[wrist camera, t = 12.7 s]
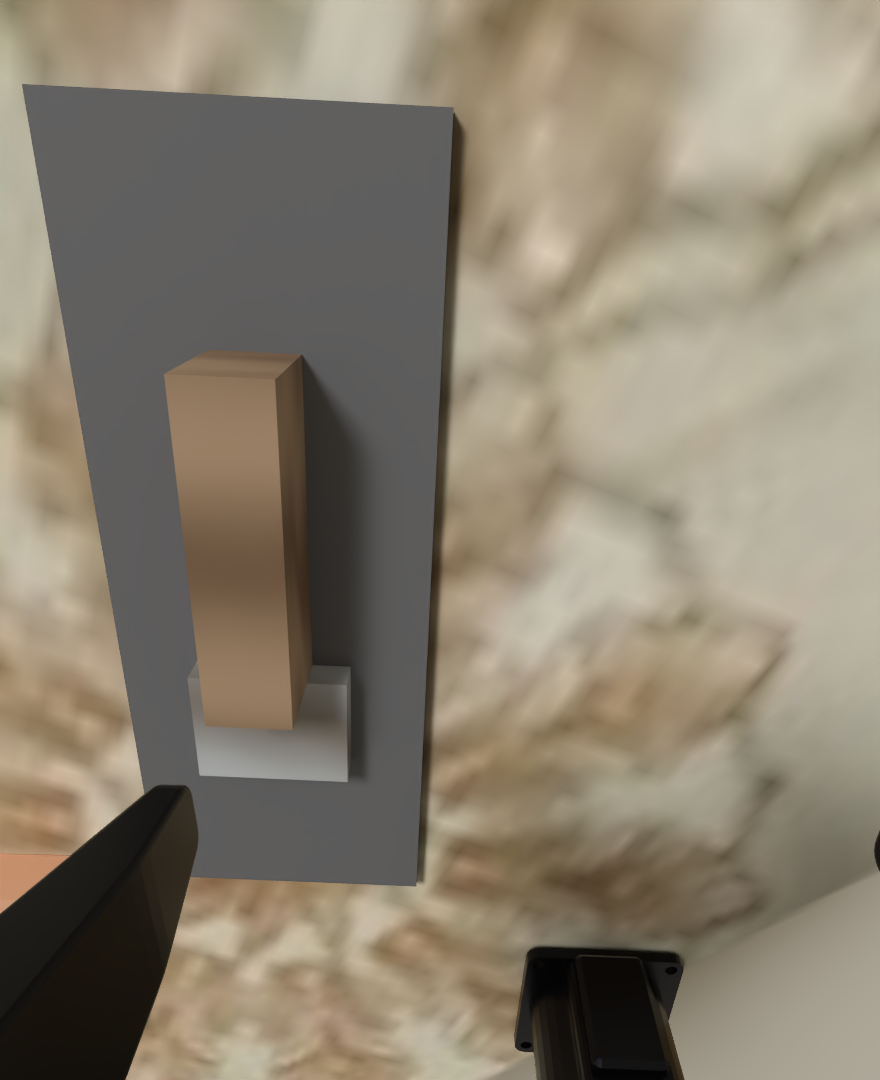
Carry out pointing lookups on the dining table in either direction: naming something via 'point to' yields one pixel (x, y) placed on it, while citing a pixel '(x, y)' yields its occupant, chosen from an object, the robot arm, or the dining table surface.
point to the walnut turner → (252, 572)
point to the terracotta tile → (23, 874)
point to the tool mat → (329, 416)
